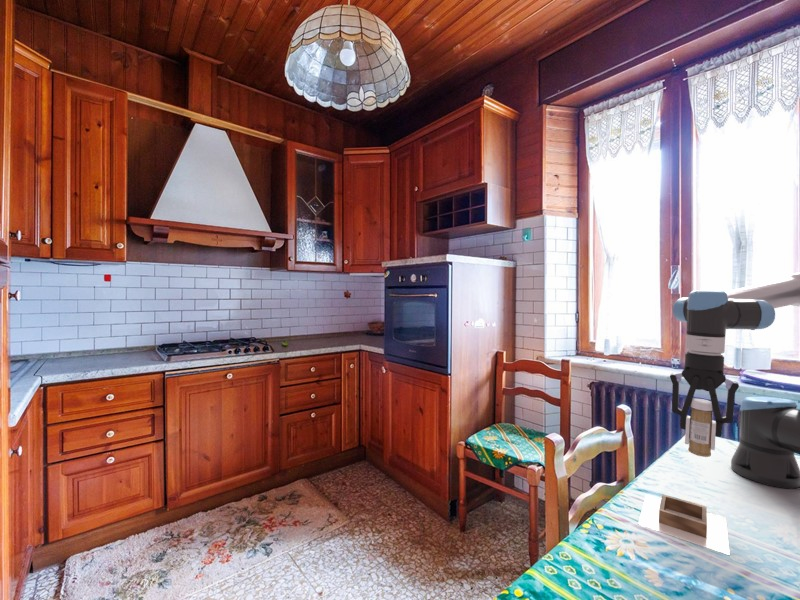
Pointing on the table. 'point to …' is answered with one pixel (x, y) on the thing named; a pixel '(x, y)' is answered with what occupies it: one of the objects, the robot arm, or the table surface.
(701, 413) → the sprinkles bottle
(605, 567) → the table surface
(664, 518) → the collar
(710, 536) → the tile
